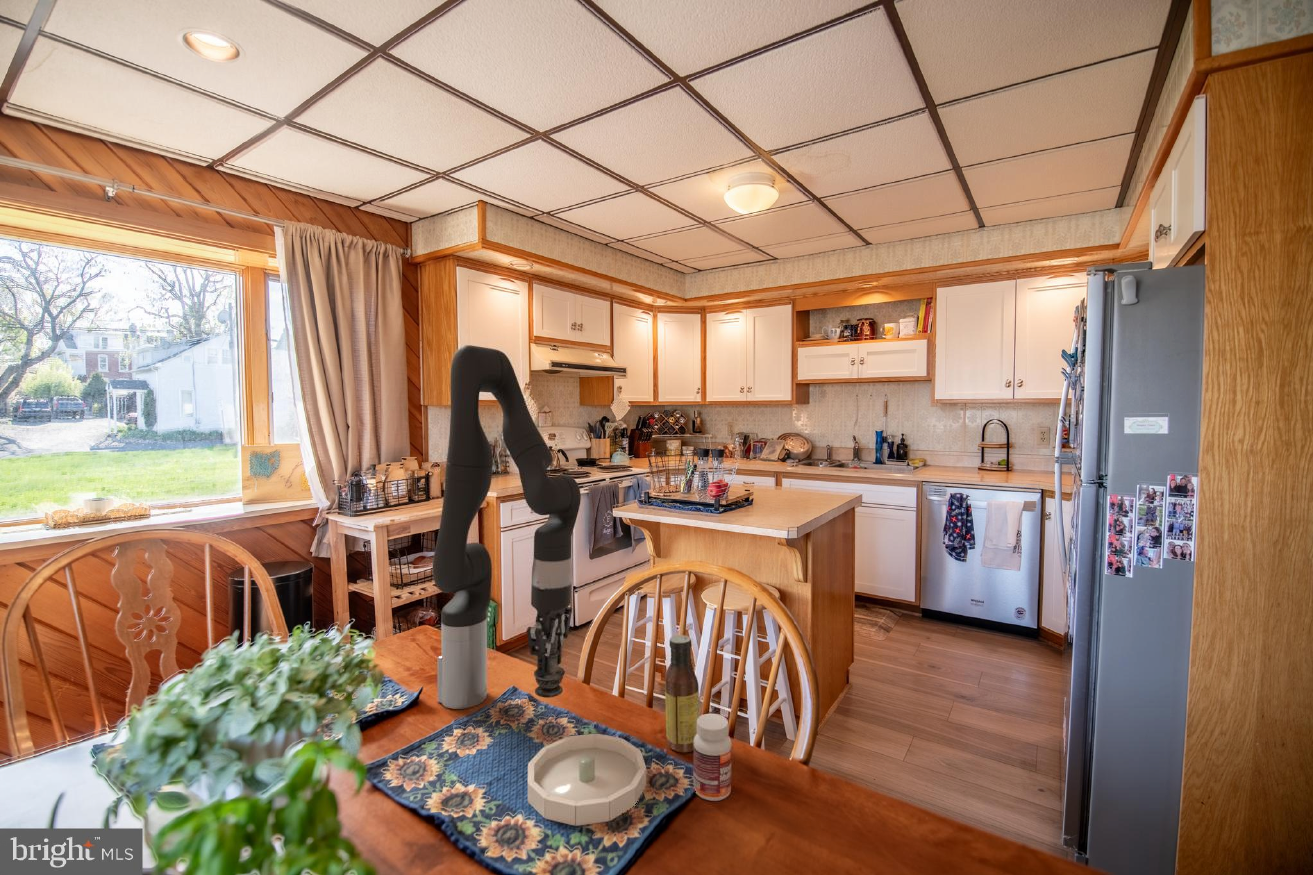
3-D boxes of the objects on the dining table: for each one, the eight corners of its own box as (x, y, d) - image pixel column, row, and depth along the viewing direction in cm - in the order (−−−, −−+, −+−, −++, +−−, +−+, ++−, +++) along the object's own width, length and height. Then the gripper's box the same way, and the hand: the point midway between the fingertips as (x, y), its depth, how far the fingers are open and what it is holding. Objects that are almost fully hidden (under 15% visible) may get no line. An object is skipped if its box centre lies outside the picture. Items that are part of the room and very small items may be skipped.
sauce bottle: (704, 740, 107) (705, 635, 107) (692, 758, 102) (693, 647, 101) (672, 732, 110) (673, 630, 109) (659, 749, 104) (659, 641, 104)
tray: (504, 808, 88) (504, 783, 88) (561, 742, 106) (561, 721, 106) (619, 836, 82) (619, 809, 82) (658, 762, 100) (659, 739, 100)
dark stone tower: (567, 684, 112) (569, 624, 112) (559, 699, 106) (561, 636, 106) (538, 682, 113) (540, 622, 112) (529, 696, 107) (530, 633, 106)
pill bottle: (727, 805, 89) (728, 734, 89) (689, 797, 91) (689, 727, 90) (734, 782, 95) (734, 715, 95) (697, 775, 97) (698, 709, 96)
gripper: (552, 569, 117) (549, 651, 117) (514, 588, 103) (511, 681, 104) (585, 573, 114) (583, 657, 115) (551, 594, 101) (548, 689, 101)
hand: (549, 668), depth 109 cm, fingers closed on dark stone tower, 4 cm apart
